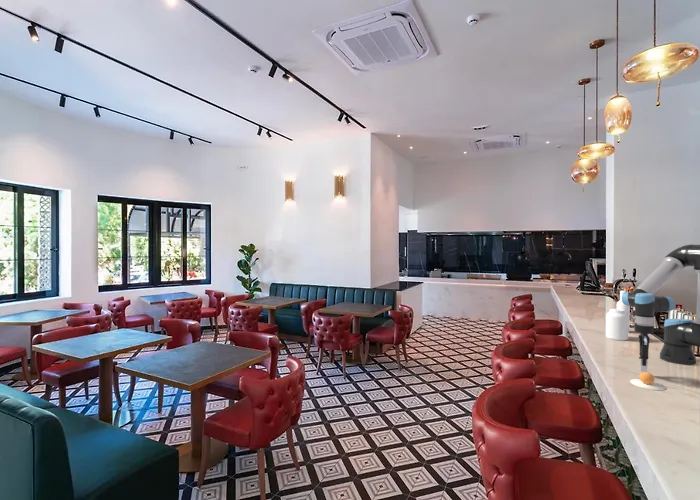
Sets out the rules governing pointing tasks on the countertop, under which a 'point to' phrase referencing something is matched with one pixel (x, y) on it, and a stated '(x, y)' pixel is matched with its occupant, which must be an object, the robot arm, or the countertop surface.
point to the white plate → (648, 385)
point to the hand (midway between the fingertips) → (643, 371)
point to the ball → (646, 377)
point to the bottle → (624, 307)
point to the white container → (617, 324)
